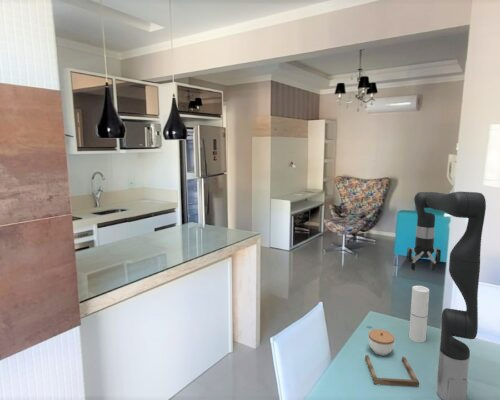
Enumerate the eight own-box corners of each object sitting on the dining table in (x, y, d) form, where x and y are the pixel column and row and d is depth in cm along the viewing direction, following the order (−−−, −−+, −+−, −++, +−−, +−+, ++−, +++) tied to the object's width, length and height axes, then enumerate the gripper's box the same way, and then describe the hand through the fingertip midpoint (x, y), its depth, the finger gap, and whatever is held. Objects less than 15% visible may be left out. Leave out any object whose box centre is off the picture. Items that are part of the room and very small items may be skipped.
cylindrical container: (408, 340, 162) (411, 290, 158) (409, 332, 169) (412, 284, 165) (425, 344, 159) (429, 293, 155) (425, 336, 165) (429, 287, 161)
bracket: (365, 359, 149) (365, 354, 148) (404, 361, 147) (404, 356, 147) (374, 384, 133) (374, 379, 133) (418, 386, 132) (419, 382, 131)
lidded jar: (363, 350, 155) (364, 331, 153) (376, 341, 162) (377, 323, 160) (385, 361, 147) (386, 341, 145) (398, 352, 153) (399, 332, 152)
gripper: (411, 237, 153) (409, 273, 155) (445, 238, 151) (442, 273, 154) (405, 233, 160) (403, 267, 163) (437, 233, 159) (435, 267, 161)
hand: (422, 270), depth 158 cm, fingers open, 7 cm apart
